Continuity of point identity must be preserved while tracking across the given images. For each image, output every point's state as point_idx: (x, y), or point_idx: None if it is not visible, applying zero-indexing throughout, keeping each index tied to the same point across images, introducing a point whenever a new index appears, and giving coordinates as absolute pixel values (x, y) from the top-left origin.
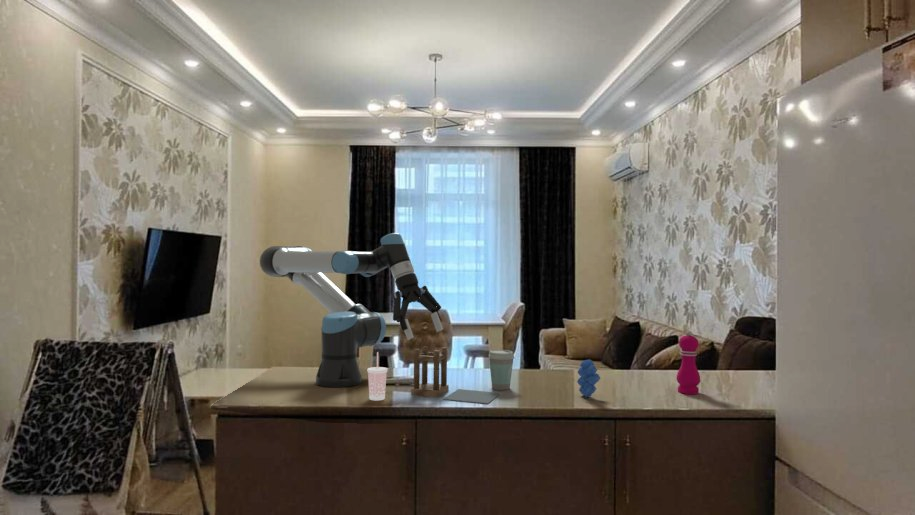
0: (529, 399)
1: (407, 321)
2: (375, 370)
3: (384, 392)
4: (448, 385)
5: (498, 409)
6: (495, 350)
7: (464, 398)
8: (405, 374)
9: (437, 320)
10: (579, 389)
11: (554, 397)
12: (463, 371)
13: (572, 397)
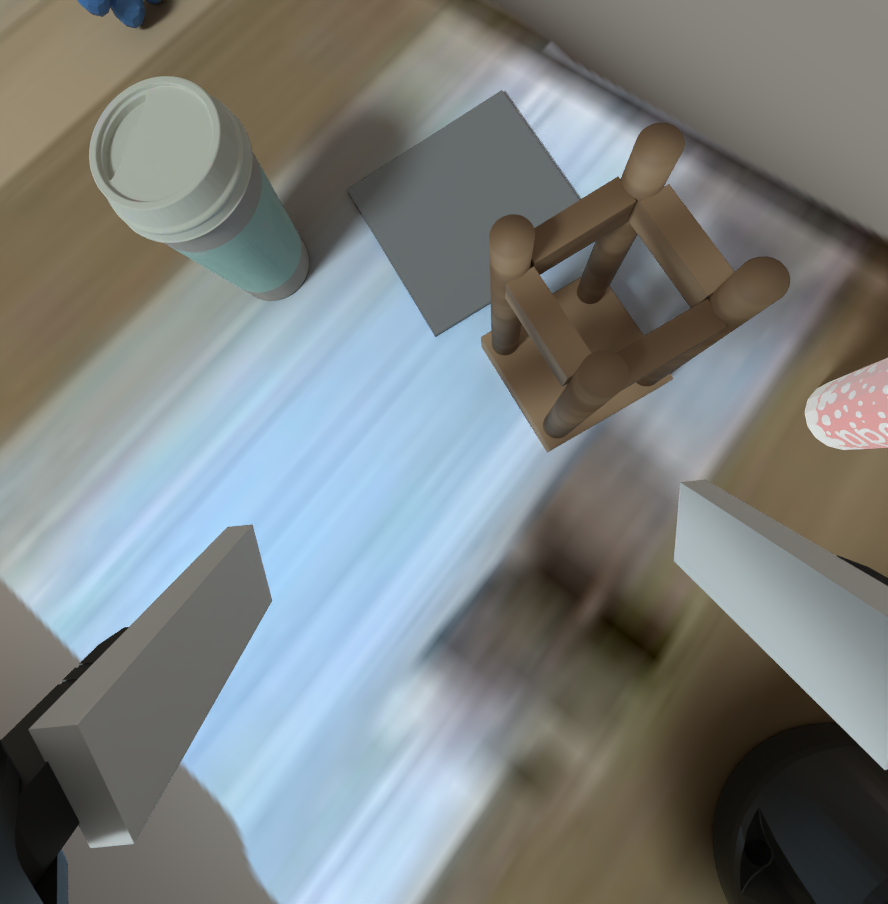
0: (328, 74)
1: (883, 600)
2: None
3: (844, 377)
4: (482, 337)
5: (521, 21)
6: (141, 203)
7: (525, 192)
8: (418, 777)
9: (193, 613)
10: (138, 3)
11: (239, 53)
12: None
13: (193, 24)
